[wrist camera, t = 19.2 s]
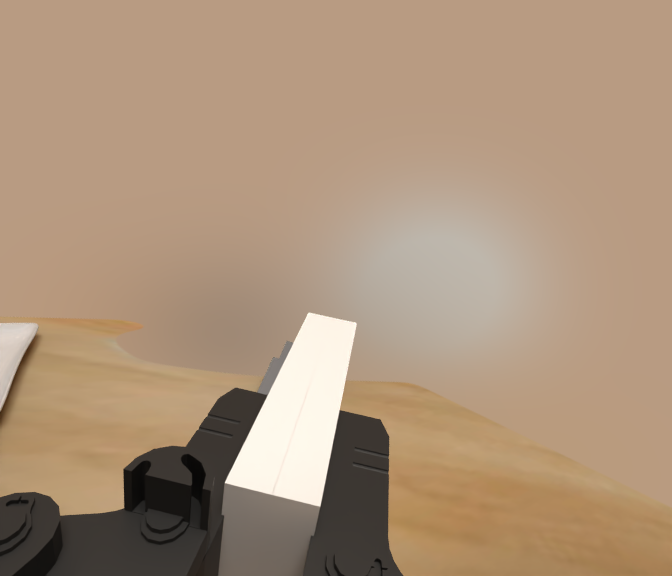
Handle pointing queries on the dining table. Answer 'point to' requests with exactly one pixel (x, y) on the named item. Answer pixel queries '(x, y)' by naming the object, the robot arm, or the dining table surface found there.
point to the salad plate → (13, 352)
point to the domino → (271, 375)
